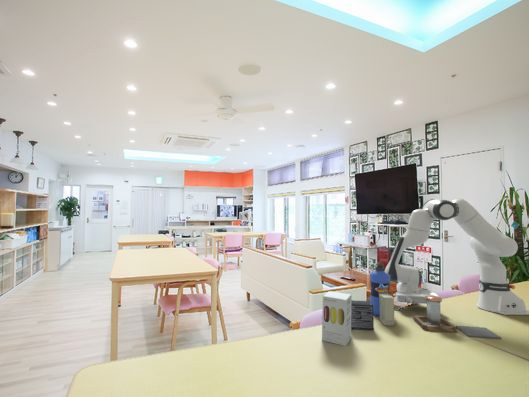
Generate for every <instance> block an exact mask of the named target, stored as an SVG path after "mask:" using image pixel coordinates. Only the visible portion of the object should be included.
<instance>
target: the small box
mask: <svg viewBox="0 0 529 397" xmlns="http://www.w3.org/2000/svg"><path fill="white" fill-rule="evenodd" d="M374 317H375V316H374V315H373V304H372V303H371V302H370V300H352V299H351V330H363V331H366V330H367V331H374V330H375V326H374V323H375V322H374V321H375V319H374Z"/></svg>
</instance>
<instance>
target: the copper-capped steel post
mask: <svg viewBox="0 0 529 397" xmlns="http://www.w3.org/2000/svg"><path fill="white" fill-rule="evenodd" d="M425 300H427V304H426V316H427V321H426V325H437V326H442V325H441V324H442V323H441V318H442V316H441V303H442V302H443V298H442V297H440V296H439V297H437V296H431V295H427V296H425Z"/></svg>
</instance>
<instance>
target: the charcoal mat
mask: <svg viewBox="0 0 529 397" xmlns="http://www.w3.org/2000/svg"><path fill="white" fill-rule="evenodd" d="M455 327H456V329H458V330H459V331H460V332H461V333H463V334H465V335H466V336H467V337H470V338H485V339H496V340H497V339H498V340H502V337H501V336H500V335H498V334H497V333H496V332H493V331H492V330H491V329H488V328H487V327H481V326H467V325H466V326H464V325H455Z"/></svg>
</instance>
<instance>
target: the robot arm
mask: <svg viewBox="0 0 529 397" xmlns="http://www.w3.org/2000/svg"><path fill="white" fill-rule="evenodd" d="M451 219H453V220H454V221H455V222H456V223H457V224H458V225H459V227H460V228H461V229H462V230H463V232H465V233H466V234H467V235H468V236H470V237H471V238H470V241H469V244H470V247H471V249H472V250H473V252H474V253H475V256H476V258H477V261H478V266H479V280H478V288H479V290H478V291H479V293H478V294H479V295H478V300H477V302H476V303H477V304H476V307H477V308H479V309H481V310H484V311H487V312H492V313H496V314H500V315H506V316H508V315H509V316H512V315H513V316H514V315H515V316H528V315H529V309H527V308H526V306H527V305H526V303H525V301H524V300H523V298H521V297H520V296H518V295H517V294H516V293H514V291H512V290H515V289H516V286H515V285H514V284H509V283H507V268H506V266H505V265H504V263H503V262H502V261H501V258H508V257H513V256H514V255H516V253H517V252H518V249H519V246H518V243H517V241H516V240H515V239H513V238H512V237H509V236H508V235H506V234H505V233H503V232H501V231H500V230H499V229H497V227H495V226H493V225H492V224H490V223H489V222H488V221H487V219H485V218H484V216H482V214H480V212H479V211H478V210H477V209H476V208H475V207H474V206H473V205H471V204H470V203H469V202H468V201H467V200H465V199H463V198H455V199H453V200H451V201H450V200H447V199H441V198H437V199H435V198H432V199H429V200H427V201H425V202H424V204H423V205H422V206H421V207H420V208H418V209H415V210H413V211H412V212H411V215H410V216H409V219H408V223H407V228H406V230H405V232H404V233H403V234H402V235H400V236H399V237H398V238H397V240H396V243H395V245H394V247H393V250H392V251H391V255H390V258H389V260H388V262H387V264H386V266H385V270H384V272H385V273H387V274H389V275H390V282H392V283H393V282H397V283H396V290H397V291H396V292H395V293H393V294H392V295H393V296H394V297H395V300H396V302H399V303H409V304H411V305H417V304H424V305H425V304H426V305H427V300H425V296H427V295H431V296H437V297H440V295H438V294H437V293H434V292H433V291H432V290H431V289H430V288H429V289H428V288H422V287H421V286H422V282H423V275H422V273H421V271H420V269H419V268H418V267H415V266H411V265H404V264H399V263H400V259H401V258H402V257H401V256H402V254H403V252H404V251H405V250H407V249H408V248H412V247H417V246H422V245H424V244H425V243H426V242H427V241H428V239H429V236H430V232H431V226H432V223H433V222H434V221H435V220H440V221H448V220H451ZM511 289H512V290H511ZM393 296H392V297H393Z"/></svg>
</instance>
